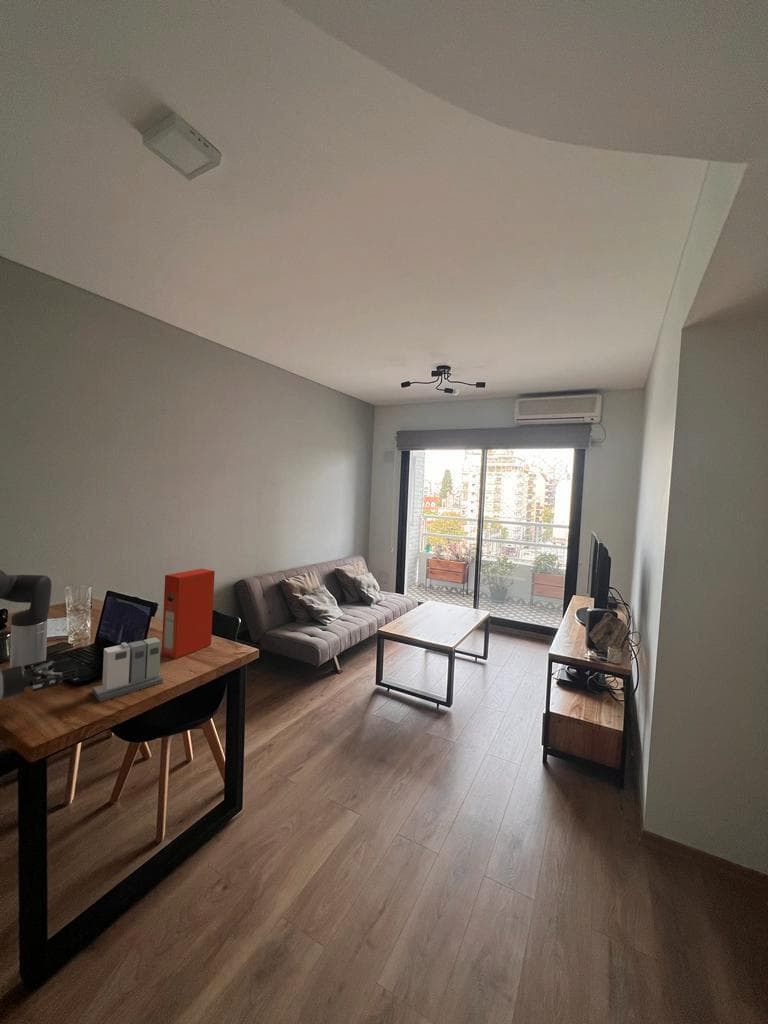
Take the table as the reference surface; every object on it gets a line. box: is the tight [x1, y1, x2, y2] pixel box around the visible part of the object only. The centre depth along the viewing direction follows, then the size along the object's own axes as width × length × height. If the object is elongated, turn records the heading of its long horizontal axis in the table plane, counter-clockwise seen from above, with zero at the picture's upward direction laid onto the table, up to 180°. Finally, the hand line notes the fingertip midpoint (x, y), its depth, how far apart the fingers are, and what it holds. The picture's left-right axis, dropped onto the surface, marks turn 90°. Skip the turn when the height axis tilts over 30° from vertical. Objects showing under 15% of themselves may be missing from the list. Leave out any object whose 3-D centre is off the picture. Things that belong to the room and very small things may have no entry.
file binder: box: [161, 568, 215, 660], centre depth 162 cm, size 8×17×32 cm, turn 157°
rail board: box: [91, 637, 164, 703], centre depth 130 cm, size 8×18×14 cm, turn 141°
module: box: [101, 641, 130, 690], centre depth 127 cm, size 5×6×13 cm
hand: (74, 667), depth 118 cm, fingers open, 8 cm apart
